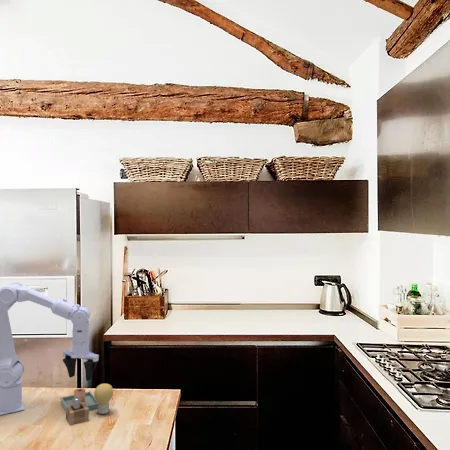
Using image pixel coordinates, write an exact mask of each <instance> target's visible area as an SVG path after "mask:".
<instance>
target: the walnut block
mask: <svg viewBox="0 0 450 450" xmlns="http://www.w3.org/2000/svg"><path fill="white" fill-rule="evenodd" d="M89 412H90V411H89V408H88V407H87V405H86V404H85V403H84V402H81V403H80V409H78V410H74V411H73V405H68V406H66V411H65V419H66V420H67V422H68V424H69V426H72V425H76V424H80V423H84V422H88V421H89V419H90V418H89V417H90V416H89V414H90V413H89Z"/></svg>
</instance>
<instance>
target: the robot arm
mask: <svg viewBox="0 0 450 450" xmlns="http://www.w3.org/2000/svg"><path fill="white" fill-rule="evenodd" d="M27 301H29V302H31V303H34V304H37V305H41V306H43V307H46V308H48V309H50V310H51V312H52V314H53V315H56V316H59V317H60V318H64V319H66V320H68V321H71V323H72V342H71V343H72V347H71V348H72V349H65V350H62V357H64V358H62V362H63V363H64V365H65V367H66V370H67V373H68V377H69V379H70V378H73V377H74V376H75V375H76V365H77V359H80V360H81V359H82V360H86V361H84V362H83V365H84V371H85V381H86V382H89V381H91V380H92V378H93V375H94V372H95V371H94V370H95V369H96V366H97V364H98V362H99V359H100V358H99V357H100V355H99V354H96V353H94V352H91V351H90V321H89V319H90V317H91V311H90V309H89V308H88V307H86V306H85V305H81V304H78V303H77V304H75V303H73V302H70V301H68V299H67V298H65V297H64V298H57V299H54V298H53V297H50V296H48V295H46V294H44V293H43V292H42V293H41V292H40V291H37V290H36V289H33V288H32V287H29V286H27V285H24V284H21V283H19V282H13V283H10V284H9V285H7V286H4V287H2V288H0V416H3V415H7V414H12V413H16V412H21V411H25V406H24V404H23V379H22V375H23V374H24V371H25V366H24V364H23V363H22V362H21V360H20V356H19V355H17V353H16V347H15V344H14V342H15V341H14V337H13V333H12V332H13V331H12V327H11V323H10V322H11V321H10V317H9V312H8V311H9V310H10V309H11V308H12V307H13V306H14V305H15V303H22V302H27Z"/></svg>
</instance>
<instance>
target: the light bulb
mask: <svg viewBox="0 0 450 450" xmlns="http://www.w3.org/2000/svg"><path fill="white" fill-rule="evenodd" d="M93 395H94V396H95V399H96V400H97V402H98V403H99V404H98V409H97V412H98V414H100V415H105V414H108V413H109V412H110V401H111V399H112V398H113V396H114V388H113V386H112V385H111V384H109V383H100V384H98V385H97V386H96V388H95V390H94V394H93Z"/></svg>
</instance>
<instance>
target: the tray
mask: <svg viewBox="0 0 450 450" xmlns="http://www.w3.org/2000/svg"><path fill="white" fill-rule="evenodd" d="M73 398H74V394H71V395H67V396H63V397H60V399H59V400H60V404H61V406H62V408H63V409H64V411H65V412H66V406H68V405H73ZM85 404H86V405H87V407H88V408H89V412H90V411H93V410H98V404H99V403H98V402H97V400H96V399H95V396H94V394H93V392H92V391H90V390H89V391H85Z"/></svg>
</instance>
